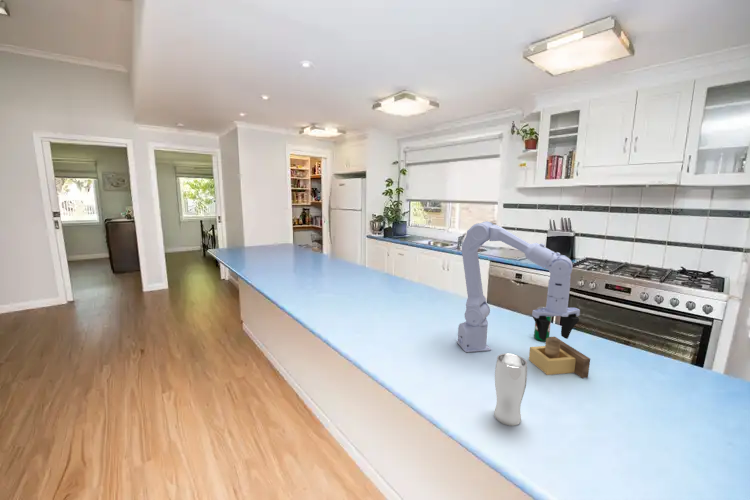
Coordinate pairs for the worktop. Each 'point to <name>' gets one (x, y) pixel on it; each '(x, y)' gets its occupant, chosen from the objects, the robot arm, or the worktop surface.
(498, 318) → the worktop surface
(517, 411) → the beer glass
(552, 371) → the socket block
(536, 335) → the soda can
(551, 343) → the dowel
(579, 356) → the walnut wall
